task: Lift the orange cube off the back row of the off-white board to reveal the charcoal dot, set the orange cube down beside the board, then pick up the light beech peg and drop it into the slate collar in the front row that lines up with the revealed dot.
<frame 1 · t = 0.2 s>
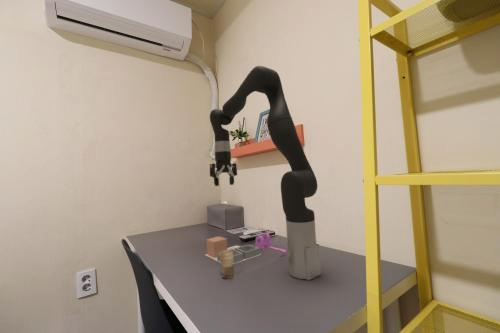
hand: (224, 185, 111), 28 cm above the table, tool pointing down, fingers open, 8 cm apart
peg: (228, 276, 76), on the table
layout board: (232, 258, 92), on the table
orange cube: (217, 254, 94), point 1 cm above the table, touching layout board
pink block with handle: (272, 253, 97), on the table
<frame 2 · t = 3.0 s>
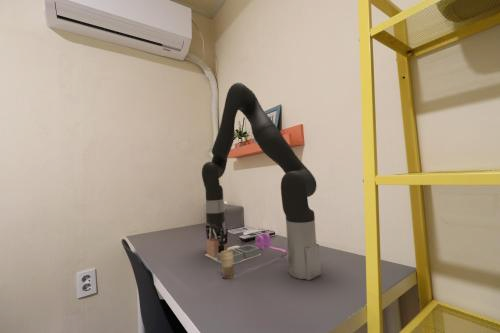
hand: (217, 252, 94), 2 cm above the table, tool pointing down, fingers closed on orange cube, 6 cm apart
orange cube: (217, 254, 94), point 2 cm above the table, touching gripper, layout board
everything else where it was.
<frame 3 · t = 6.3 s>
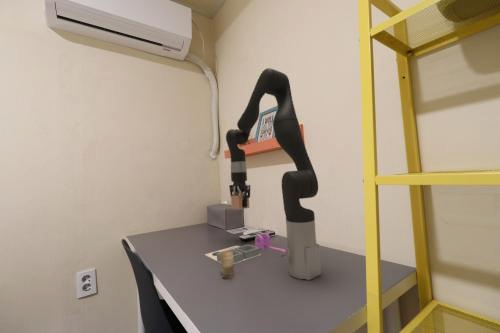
hand: (240, 206, 110), 18 cm above the table, tool pointing down, fingers closed on orange cube, 6 cm apart
orange cube: (240, 208, 110), point 17 cm above the table, touching gripper
everything else where it was.
when the fingers open (2 cm above the table, at t = 9.4 s): orange cube drops 1 cm, on the table.
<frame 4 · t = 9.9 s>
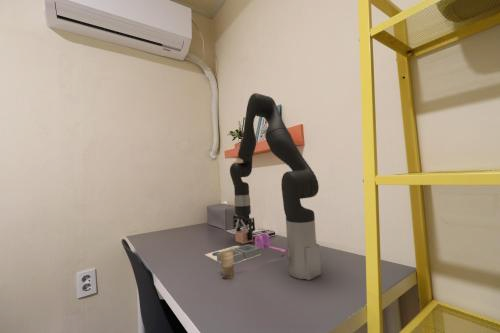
hand: (244, 238, 111), 3 cm above the table, tool pointing down, fingers open, 8 cm apart
orange cube: (244, 244, 110), on the table
everything else where it was.
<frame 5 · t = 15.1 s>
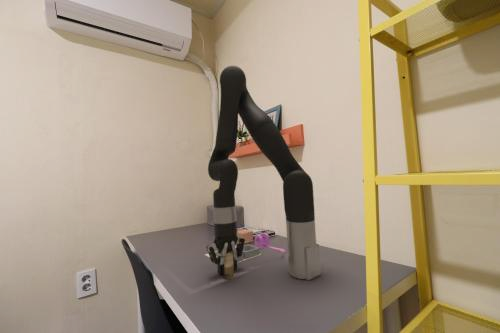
hand: (227, 272, 76), 1 cm above the table, tool pointing down, fingers closed on peg, 4 cm apart
peg: (228, 276, 76), on the table, touching gripper
everything else where it was.
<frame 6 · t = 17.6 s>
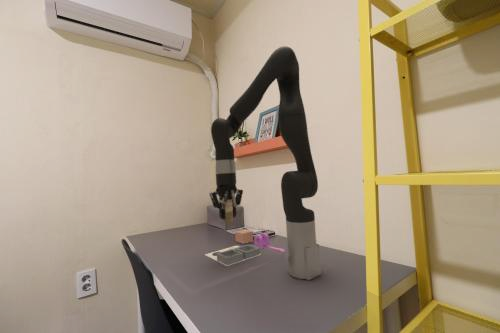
hand: (228, 217, 87), 17 cm above the table, tool pointing down, fingers closed on peg, 4 cm apart
peg: (228, 221, 87), point 16 cm above the table, touching gripper
everything else where it was.
when the fingers open (4 cm above the table, at t = 20.3 s): peg drops 1 cm, resting on layout board.
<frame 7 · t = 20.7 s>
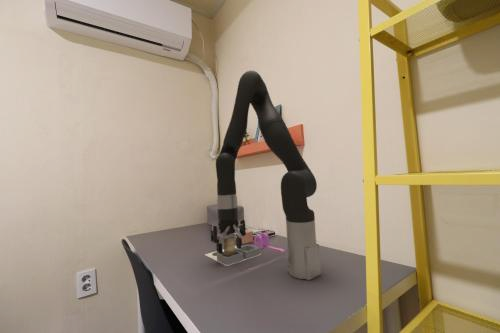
hand: (229, 250, 87), 5 cm above the table, tool pointing down, fingers open, 8 cm apart
peg: (229, 259, 87), point 2 cm above the table, touching layout board
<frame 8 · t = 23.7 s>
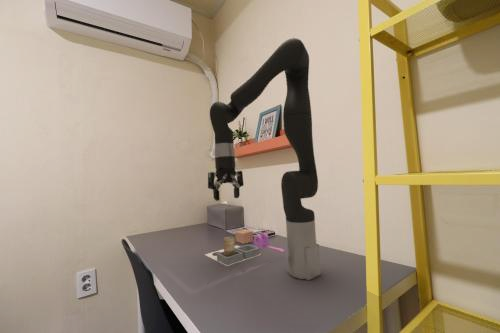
hand: (227, 199, 87), 24 cm above the table, tool pointing down, fingers open, 8 cm apart
at the end: peg 0.1 cm from the target spot on the layout board, point 1.5 cm above the layout board's base; peg tilted 1°; orange cube moved 19.6 cm from its start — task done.
